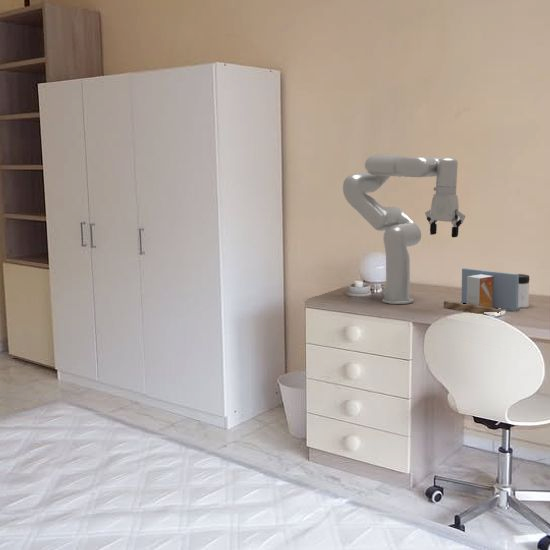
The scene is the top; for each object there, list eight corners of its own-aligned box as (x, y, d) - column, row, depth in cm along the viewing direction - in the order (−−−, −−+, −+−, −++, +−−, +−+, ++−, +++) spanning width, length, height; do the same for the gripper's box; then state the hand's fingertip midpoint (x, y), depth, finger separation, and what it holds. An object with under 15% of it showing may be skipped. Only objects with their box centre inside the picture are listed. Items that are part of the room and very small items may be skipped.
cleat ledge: (443, 307, 280) (443, 301, 280) (445, 307, 281) (445, 300, 281) (498, 316, 262) (498, 310, 262) (500, 316, 263) (500, 309, 263)
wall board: (461, 303, 288) (461, 268, 286) (465, 302, 290) (466, 267, 288) (515, 311, 270) (516, 274, 268) (519, 310, 272) (520, 273, 270)
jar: (512, 308, 275) (513, 277, 273) (501, 304, 283) (502, 274, 281) (533, 307, 277) (534, 276, 275) (522, 303, 285) (522, 273, 283)
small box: (479, 312, 271) (479, 278, 269) (466, 309, 276) (466, 276, 274) (493, 309, 275) (493, 275, 273) (479, 306, 281) (480, 273, 279)
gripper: (421, 190, 275) (419, 234, 279) (460, 192, 263) (457, 239, 266) (432, 189, 280) (430, 232, 284) (471, 191, 268) (468, 237, 271)
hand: (443, 235), depth 275 cm, fingers open, 9 cm apart
